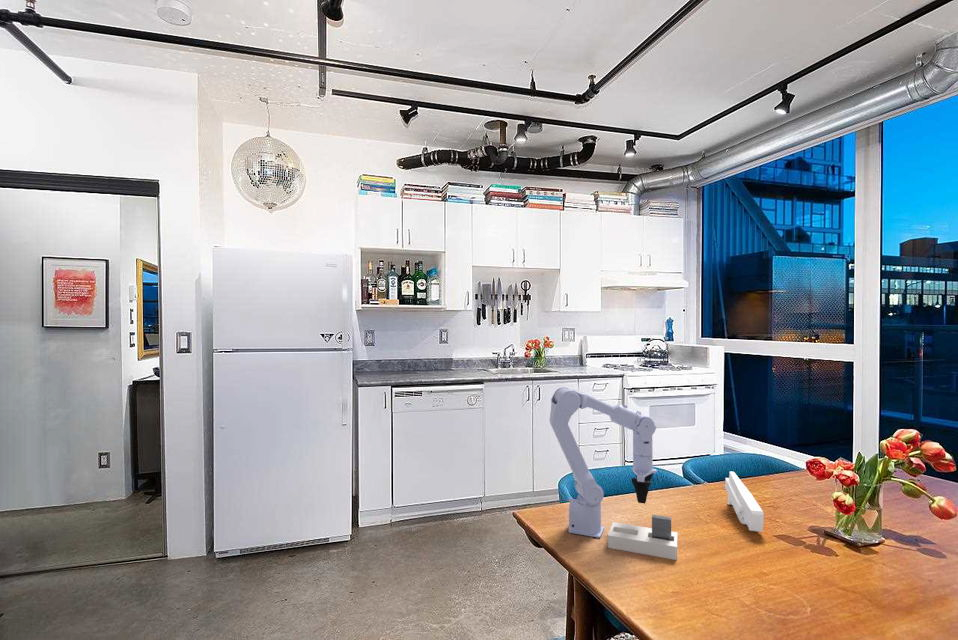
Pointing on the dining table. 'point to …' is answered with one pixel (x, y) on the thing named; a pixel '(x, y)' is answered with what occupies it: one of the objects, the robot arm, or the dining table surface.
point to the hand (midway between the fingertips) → (642, 498)
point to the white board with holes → (641, 541)
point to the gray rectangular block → (661, 527)
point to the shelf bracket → (744, 503)
